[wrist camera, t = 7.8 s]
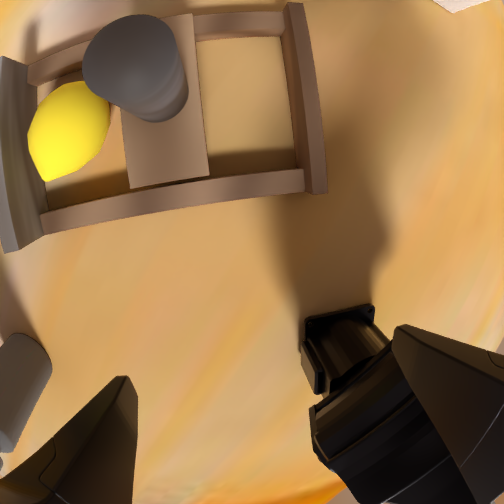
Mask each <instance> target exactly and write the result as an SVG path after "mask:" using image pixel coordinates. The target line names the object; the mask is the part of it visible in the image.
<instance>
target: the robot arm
mask: <svg viewBox="0 0 504 504" xmlns="http://www.w3.org/2000/svg"><path fill="white" fill-rule="evenodd" d="M368 309H370V310H369V311H368ZM374 314H375V307H374V306H373V305H372V304H365V305H361V306H357V307H352V308H348V309H344V310H339V311H335V312H330V313H326V314H321V315H316V316H312V317H308V318H306V319H305V320H304V341H302V343H301V366H302V368H303V370H304V372H305V375H306V377H307V379H308V381H309V384H310V386H311V388H312V390H313V393H314V394H316V395H319V394H322V397H323V400H322V401H320V402H319V403H318V404H316V405H313V406H312V407H310V408H309V417H310V428H311V438H312V445H313V451H314V453H315V454H316V455H317V456H318V459H319V461H320V462H322V463H323V464H324V465H325V466H326V467H327V468H328V469H329V470H331V471H332V472H334V473H336V474H337V475H338V476H339V477H340V478H341V479H342V480H343V482H344V483H345V484H346V486H347V487H348V488H349V490H350V491H351V493H352V494H353V496H354V497H355V499H356V500H357V502H359V503H360V504H383V503H384V502H386V503H390V504H495V502H494V500H495V499H496V498H498V497H499V496H500V495H501V494H502V493H503V492H504V355H501V354H498V353H494V352H491V351H488V350H487V351H486V350H485V349H481V348H478V347H475V346H472V345H469V344H466V343H463V342H459V341H456V340H453V339H450V338H447V337H444V336H441V335H438V334H435V333H432V332H429V331H426V330H423V329H420V328H417V327H414V326H410V325H407V324H403V325H400V326H397V327H396V328H395V330H394V335H393V337H392V338H393V339H392V340H391V341H390V340H389V339H388V338H387V337H386V336H385V335H384V334H383V333H382V331H381V330H380V329H379V328H378V327H377V326H376V325H375V324H374ZM309 322H312V323H311V324H310V325H308V323H309ZM137 438H138V396H137V393H136V390H135V388H134V386H133V384H132V382H131V380H130V378H129V377H128V376H126V375H125V376H116V377H115V378H113V379H112V380H111V381H110V382H109V383H108V384H107V385H106V386H105V387H104V388H103V389H102V390H101V391H100V392H99V393H98V394H97V395H96V396H95V397H94V398H93V399H91V400H90V401H89V402H88V403H87V404H86V405H85V406H84V407H83V408H82V409H81V410H80V411H79V412H78V413H77V414H76V415H75V416H74V417H73V418H72V419H71V420H69V421H68V422H67V423H66V424H65V425H64V426H63V427H62V428H61V429H60V430H59V431H58V432H57V433H56V434H55V435H54V436H53V437H52V438H51V439H50V440H49V441H47V442H46V443H45V444H44V445H43V446H42V447H41V448H40V449H39V450H38V451H37V452H35V453H34V454H33V455H32V456H31V457H29V458H28V459H27V460H26V461H24V462H23V463H22V464H20V465H19V466H18V467H17V468H15V469H14V470H13V471H11V472H10V473H9V474H7V475H6V476H5V477H3V478H2V479H0V504H132V495H133V481H134V469H135V458H136V449H137Z"/></svg>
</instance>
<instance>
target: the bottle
mask: <svg viewBox="0 0 504 504" xmlns="http://www.w3.org/2000/svg"><path fill="white" fill-rule="evenodd" d="M51 374H52V364H51V361H50V359H49V357H48V355H47V353H46V352H45V350H44V349H43V348H42V347H41V346H40V345H39V344H38V343H37V342H36V341H35V340H33V339H32V338H30V337H28V336H26V335H24V334H20V333H16V334H13V335H11V336H10V337H9V338H8V339H7V340H6V341H5V342H4V344H3V345H2V346H1V347H0V452H3V453H11V452H13V450H14V448H15V446H16V444H17V442H18V440H19V438H20V436H21V434H22V431H23V429H24V427H25V425H26V423H27V421H28V419H29V417H30V415H31V413H32V411H33V409H34V407H35V405H36V403H37V401H38V399H39V397H40V395H41V393H42V391H43V389H44V388H45V386H46V384H47V382H48V380H49V378H50V376H51ZM2 466H3V461H2V459H1V457H0V470H1V468H2Z"/></svg>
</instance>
